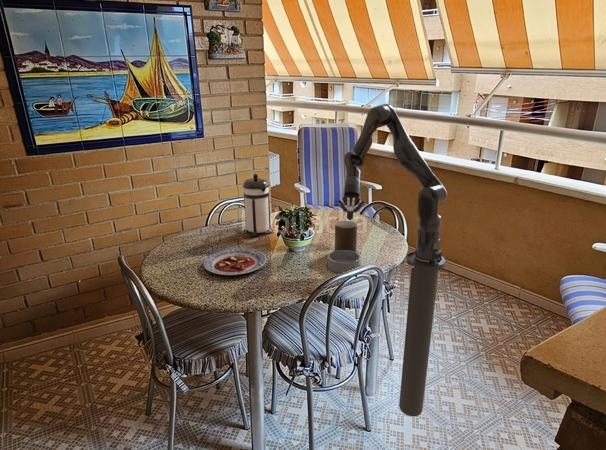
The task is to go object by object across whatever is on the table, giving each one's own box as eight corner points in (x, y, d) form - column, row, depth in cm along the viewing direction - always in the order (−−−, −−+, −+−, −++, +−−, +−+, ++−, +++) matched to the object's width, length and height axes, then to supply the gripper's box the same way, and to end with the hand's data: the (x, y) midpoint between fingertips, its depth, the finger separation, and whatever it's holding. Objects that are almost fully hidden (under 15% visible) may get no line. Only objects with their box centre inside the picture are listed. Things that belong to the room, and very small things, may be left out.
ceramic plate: (248, 283, 155) (248, 276, 154) (191, 273, 164) (190, 267, 163) (276, 257, 178) (276, 251, 177) (224, 249, 186) (224, 243, 185)
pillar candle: (350, 259, 175) (351, 226, 170) (330, 254, 180) (330, 222, 175) (360, 251, 183) (361, 219, 178) (341, 246, 188) (341, 216, 183)
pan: (366, 266, 168) (367, 256, 167) (345, 276, 160) (345, 266, 159) (342, 256, 178) (343, 247, 176) (321, 266, 169) (321, 256, 168)
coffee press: (277, 227, 213) (275, 170, 203) (267, 238, 199) (265, 178, 188) (246, 225, 217) (242, 169, 207) (234, 235, 202) (230, 176, 192)
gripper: (338, 183, 197) (335, 215, 190) (365, 184, 195) (363, 216, 187) (339, 191, 204) (336, 222, 196) (365, 191, 201) (363, 223, 194)
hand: (349, 219), depth 192 cm, fingers closed
